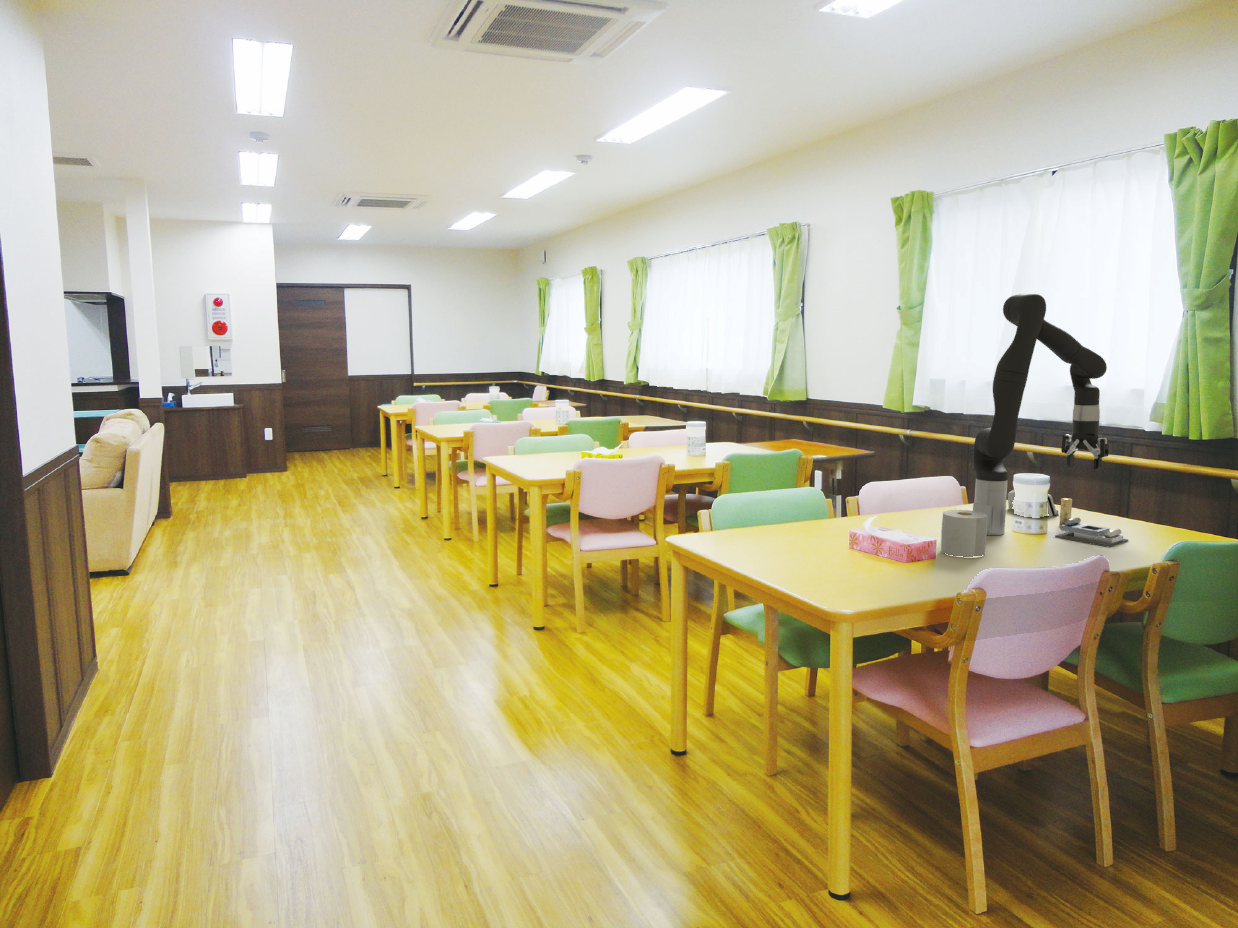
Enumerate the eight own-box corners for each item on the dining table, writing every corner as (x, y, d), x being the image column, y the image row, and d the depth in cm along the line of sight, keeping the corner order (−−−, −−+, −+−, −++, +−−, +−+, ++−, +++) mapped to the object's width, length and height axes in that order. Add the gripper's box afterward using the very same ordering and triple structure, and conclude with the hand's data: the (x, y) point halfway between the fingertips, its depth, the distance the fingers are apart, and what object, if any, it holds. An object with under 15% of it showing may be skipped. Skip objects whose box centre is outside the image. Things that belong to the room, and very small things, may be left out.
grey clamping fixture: (1111, 543, 243) (1113, 528, 243) (1060, 534, 255) (1061, 519, 255) (1122, 540, 247) (1124, 524, 247) (1072, 531, 259) (1073, 516, 259)
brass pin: (1067, 527, 267) (1069, 500, 266) (1057, 525, 270) (1059, 498, 269) (1072, 526, 269) (1074, 499, 268) (1062, 524, 272) (1064, 497, 270)
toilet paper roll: (955, 559, 230) (957, 519, 228) (932, 549, 242) (934, 510, 240) (994, 557, 232) (996, 517, 230) (969, 547, 244) (971, 508, 242)
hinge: (1059, 515, 285) (1055, 489, 282) (1051, 521, 284) (1047, 495, 281) (1017, 507, 300) (1012, 482, 297) (1008, 512, 298) (1004, 488, 295)
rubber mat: (1109, 547, 242) (1109, 545, 241) (1054, 536, 254) (1055, 535, 254) (1128, 541, 248) (1128, 539, 248) (1074, 531, 261) (1074, 530, 261)
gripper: (1057, 418, 268) (1055, 466, 270) (1100, 421, 255) (1098, 472, 258) (1071, 416, 271) (1069, 464, 274) (1115, 419, 259) (1112, 469, 262)
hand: (1083, 468), depth 266 cm, fingers open, 8 cm apart
